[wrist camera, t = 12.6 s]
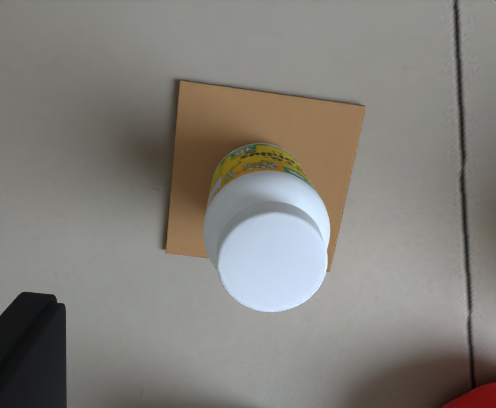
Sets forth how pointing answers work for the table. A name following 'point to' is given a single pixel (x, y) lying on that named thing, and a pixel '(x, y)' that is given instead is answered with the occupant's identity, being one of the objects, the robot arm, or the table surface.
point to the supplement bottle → (266, 228)
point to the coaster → (249, 132)
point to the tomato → (476, 398)
